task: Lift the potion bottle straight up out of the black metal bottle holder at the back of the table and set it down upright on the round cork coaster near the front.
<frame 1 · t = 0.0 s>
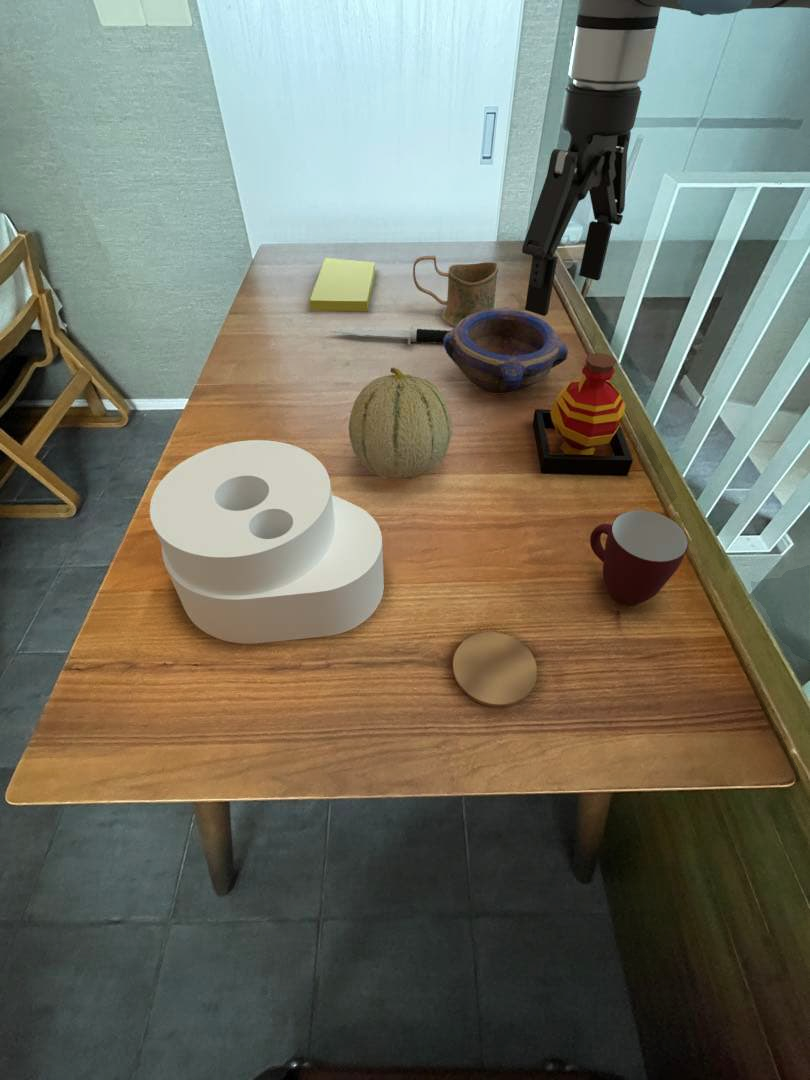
hand: (564, 294, 74), 24 cm above the table, tool pointing down, fingers open, 13 cm apart
mug 2: (454, 317, 123), on the table
bowl: (500, 383, 104), on the table
yellow flat block: (345, 288, 133), on the table
cantaloupe: (401, 469, 87), on the table
mug: (615, 588, 71), on the table
white stepped block: (283, 580, 72), on the table
holder: (577, 449, 90), on the table
potion bottle: (577, 450, 91), resting in holder
knife: (394, 341, 116), on the table
coaster: (494, 669, 63), on the table
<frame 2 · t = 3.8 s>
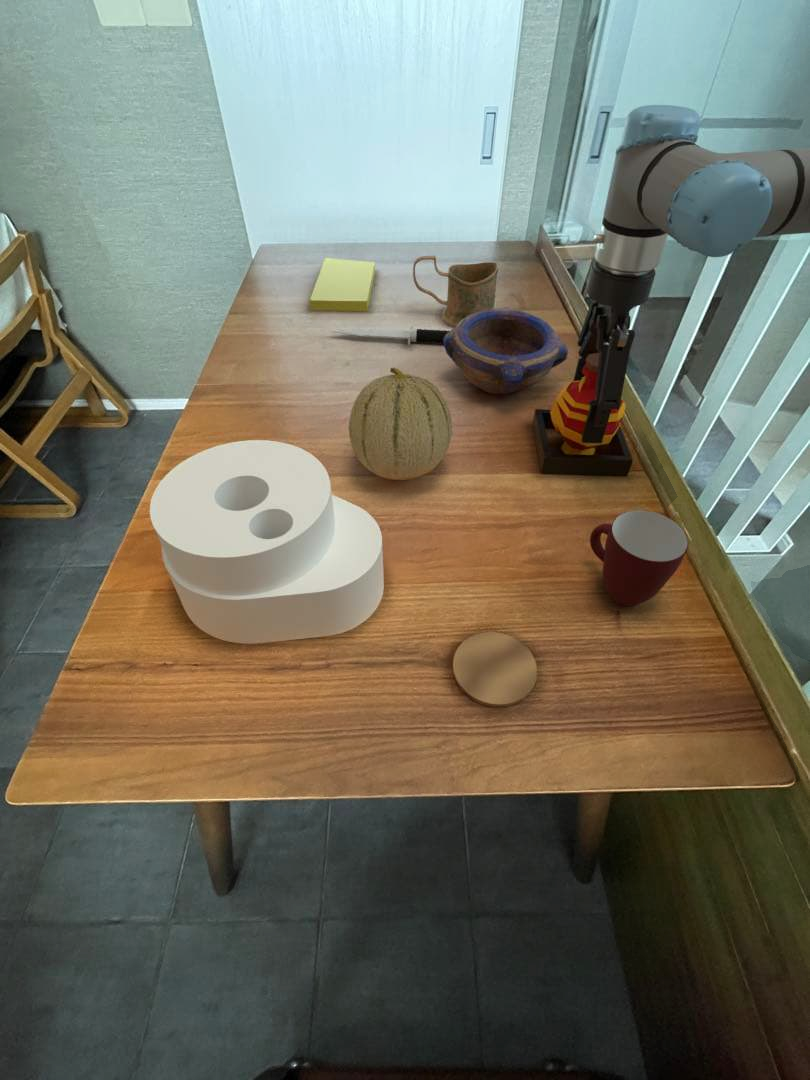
hand: (584, 419, 87), 5 cm above the table, tool pointing down, fingers closed on potion bottle, 10 cm apart
potion bottle: (577, 450, 91), resting in holder, touching gripper
everything else where it was.
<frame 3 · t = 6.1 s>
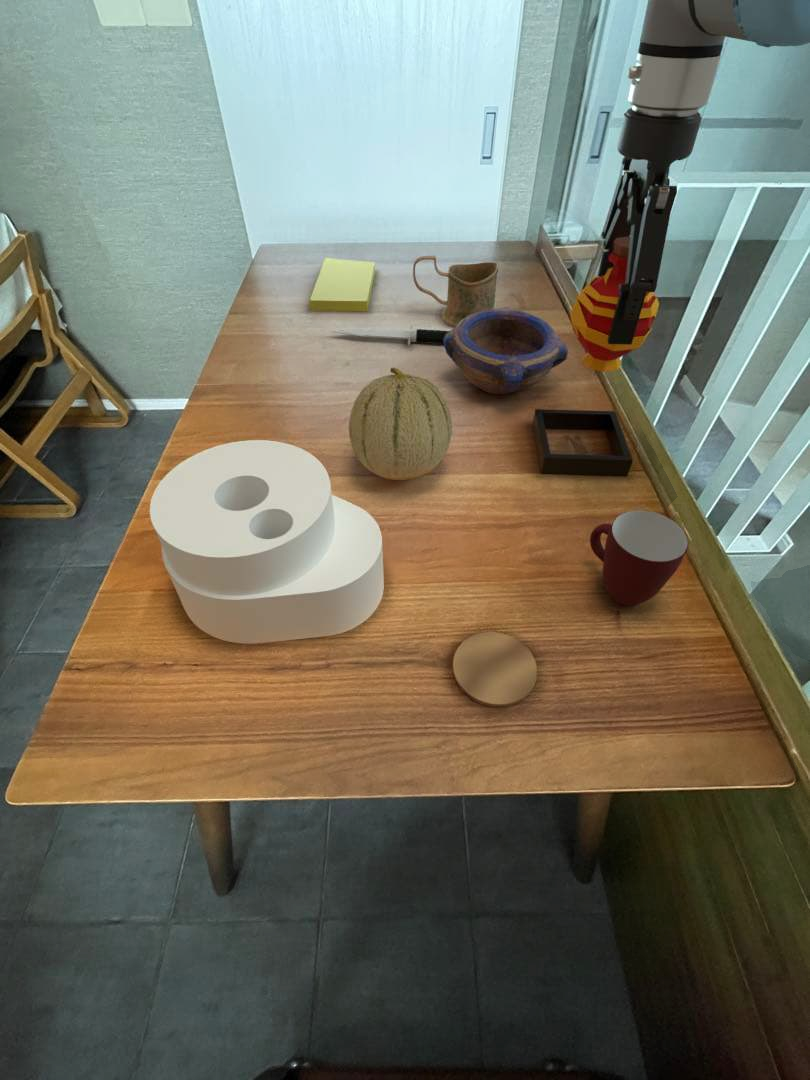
hand: (610, 322, 74), 21 cm above the table, tool pointing down, fingers closed on potion bottle, 10 cm apart
potion bottle: (600, 363, 78), point 15 cm above the table, touching gripper
everything else where it was.
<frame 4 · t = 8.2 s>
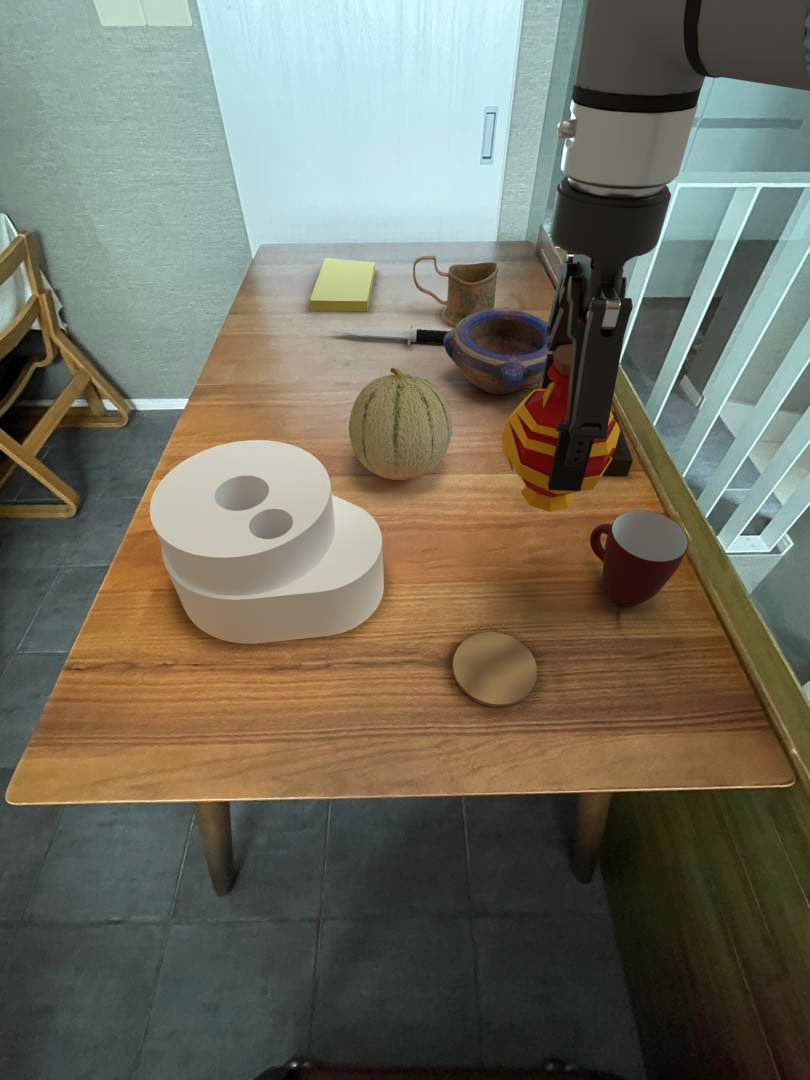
hand: (556, 449, 55), 22 cm above the table, tool pointing down, fingers closed on potion bottle, 10 cm apart
potion bottle: (546, 496, 59), point 16 cm above the table, touching gripper
everything else where it was.
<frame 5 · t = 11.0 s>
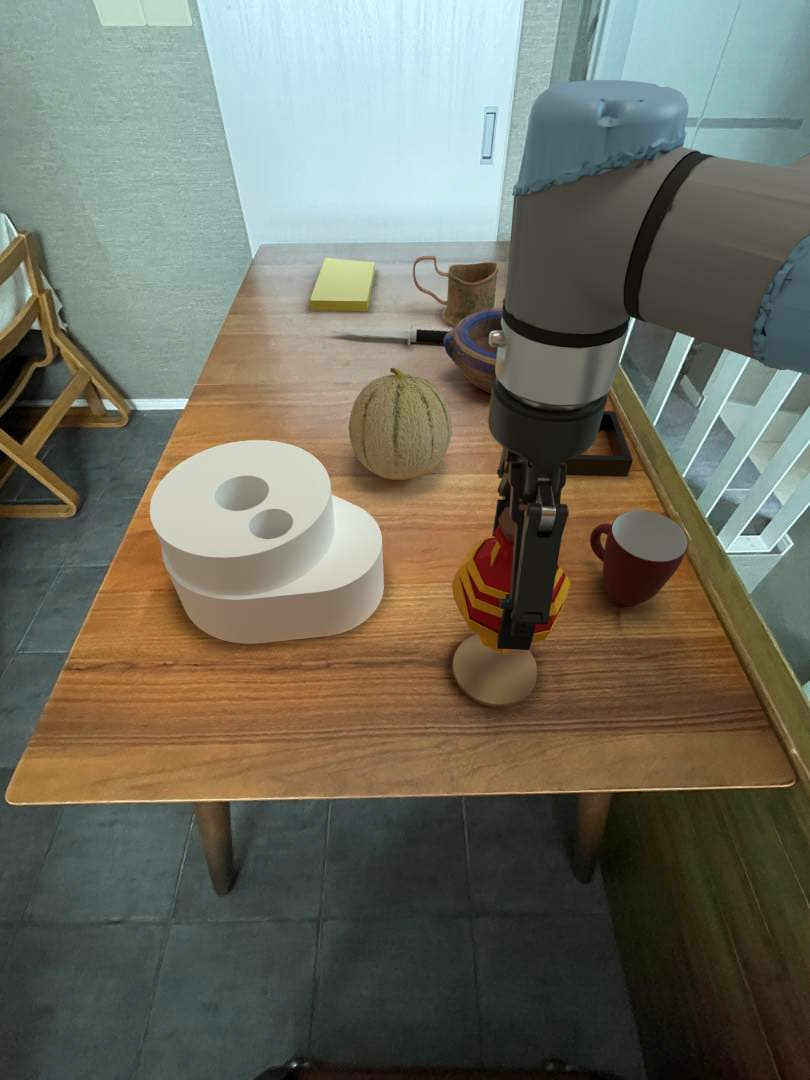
hand: (508, 595, 54), 13 cm above the table, tool pointing down, fingers closed on potion bottle, 10 cm apart
potion bottle: (500, 632, 58), point 7 cm above the table, touching gripper
everything else where it was.
when the fingers open (6 cm above the table, at t = 13.1 s): potion bottle stays where it is, resting on coaster.
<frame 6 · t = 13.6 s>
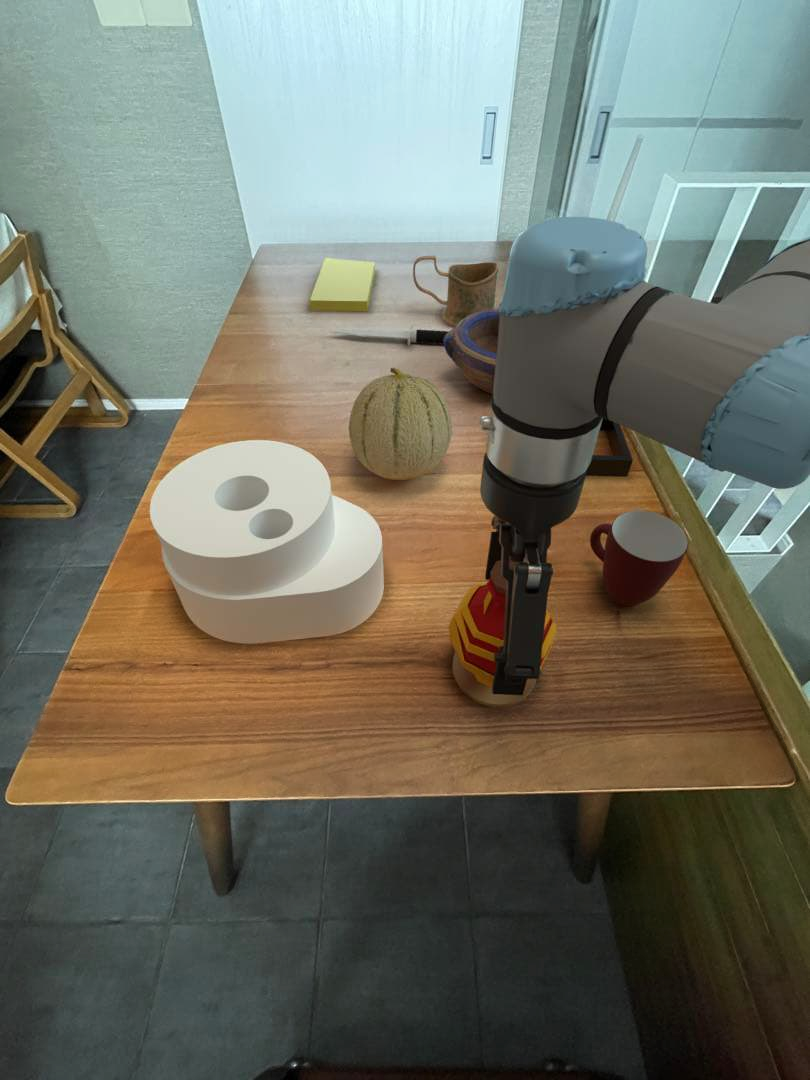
hand: (502, 630, 58), 7 cm above the table, tool pointing down, fingers open, 13 cm apart
potion bottle: (494, 668, 63), resting on coaster
everything else where it was.
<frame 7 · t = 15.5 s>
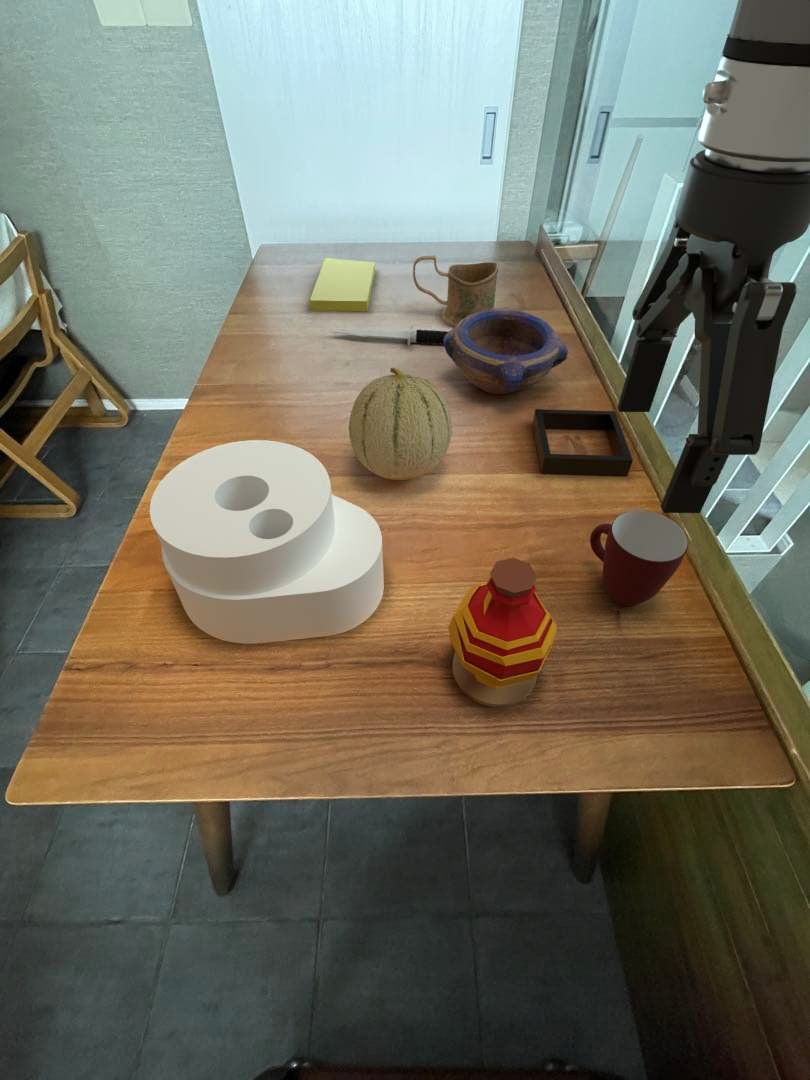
hand: (654, 455, 49), 25 cm above the table, tool pointing down, fingers open, 13 cm apart
nothing on the table moved.
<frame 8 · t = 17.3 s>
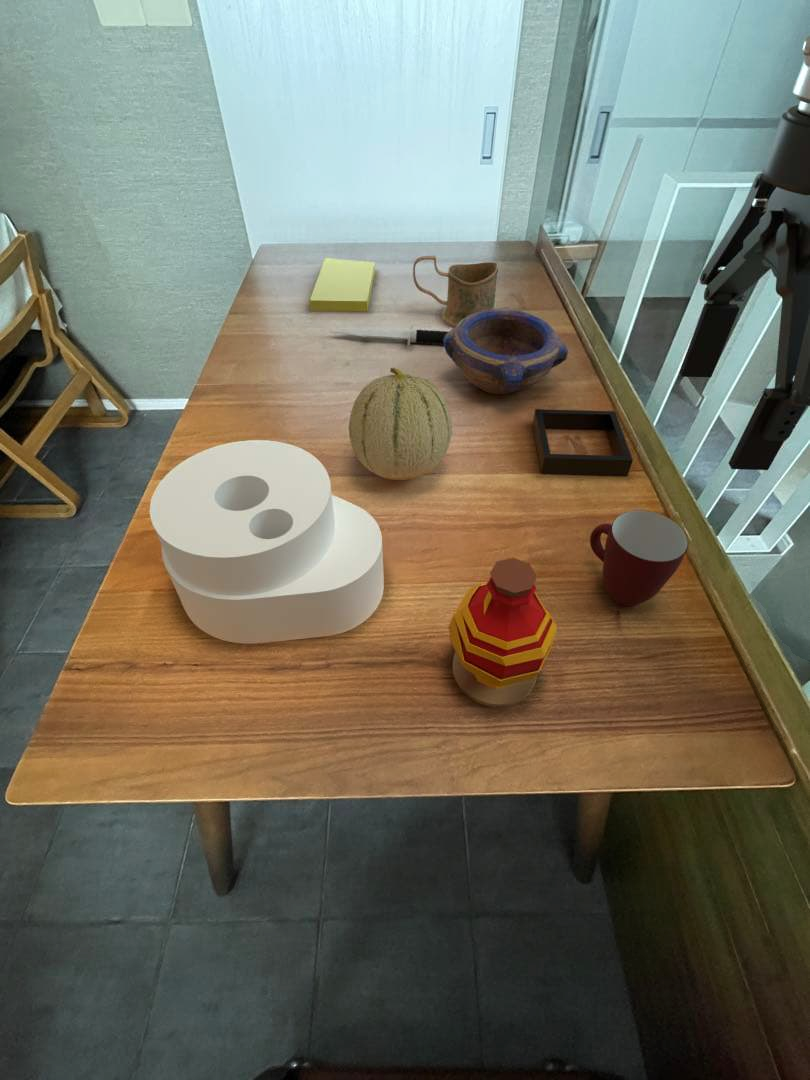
hand: (718, 416, 49), 27 cm above the table, tool pointing down, fingers open, 13 cm apart
nothing on the table moved.
at the end: potion bottle inside the target area on the coaster (0.2 cm from its centre), point 0.4 cm above the coaster's base; potion bottle tilted 0°; the gripper is holding nothing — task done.
